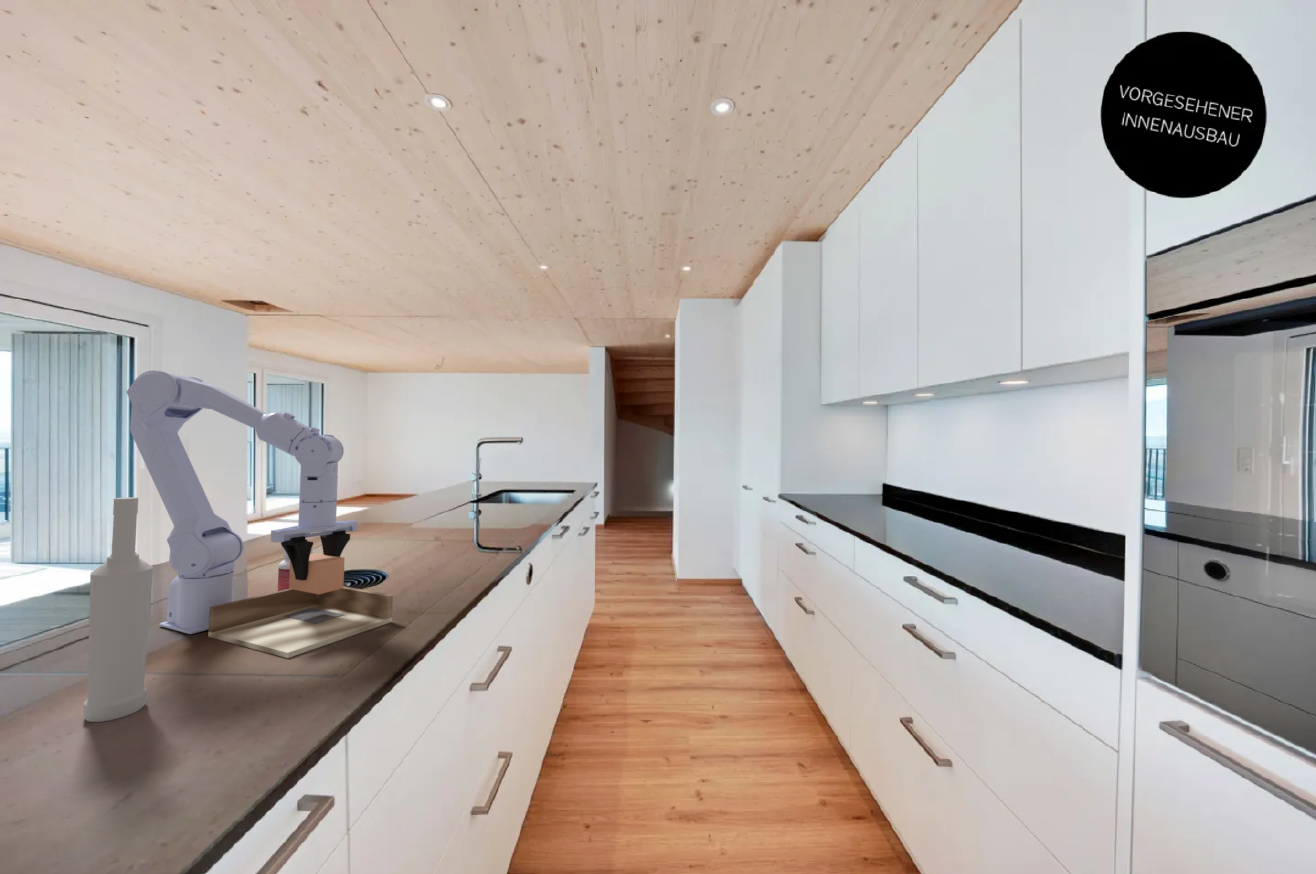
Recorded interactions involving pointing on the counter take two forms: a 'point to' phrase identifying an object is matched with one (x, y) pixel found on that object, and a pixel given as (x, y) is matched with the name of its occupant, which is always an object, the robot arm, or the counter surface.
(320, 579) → the block
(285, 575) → the pill bottle
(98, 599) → the bottle
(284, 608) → the tray
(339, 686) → the counter surface
